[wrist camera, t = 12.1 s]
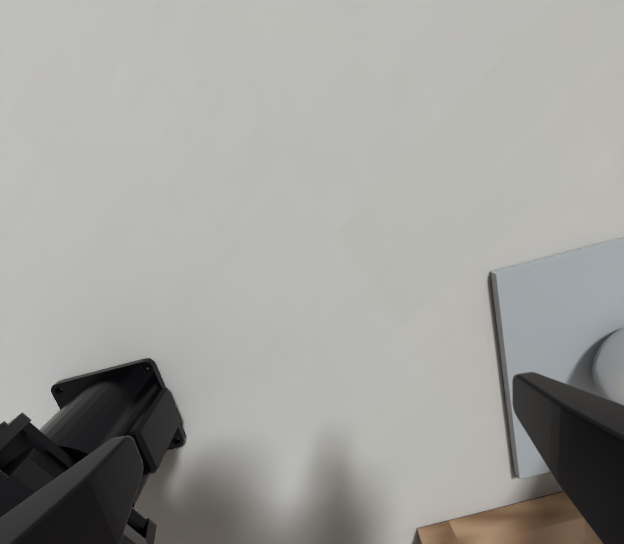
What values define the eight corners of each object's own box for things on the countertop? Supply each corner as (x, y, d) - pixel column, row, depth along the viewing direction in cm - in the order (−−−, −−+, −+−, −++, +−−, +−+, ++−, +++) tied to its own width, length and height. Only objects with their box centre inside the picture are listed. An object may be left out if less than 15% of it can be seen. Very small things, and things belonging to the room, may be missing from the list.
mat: (514, 472, 25) (519, 479, 24) (490, 271, 21) (496, 273, 20) (725, 419, 25) (735, 425, 24) (742, 206, 21) (755, 206, 20)
